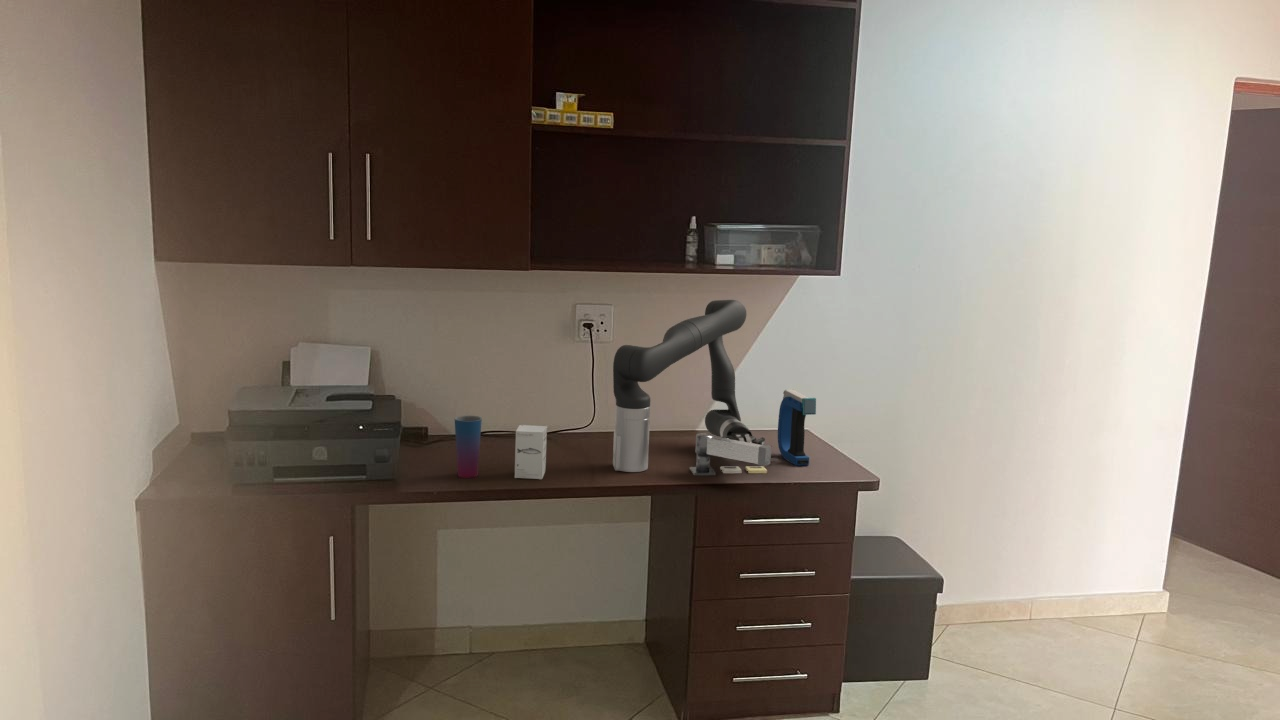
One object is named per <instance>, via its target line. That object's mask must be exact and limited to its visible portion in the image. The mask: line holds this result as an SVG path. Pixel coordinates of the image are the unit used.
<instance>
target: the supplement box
mask: <svg viewBox="0 0 1280 720" xmlns="http://www.w3.org/2000/svg"><path fill="white" fill-rule="evenodd" d="M547 434H548V426H547V425H545V426H544V425H533V424H532V425H529V424H519V425H518V427H517V428H516V429H515V443H514V446H515V448H514V479H531V480H543V478H544V476H545V473H546V466H547V438H548V437H547Z"/></svg>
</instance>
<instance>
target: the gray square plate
mask: <svg viewBox="0 0 1280 720" xmlns="http://www.w3.org/2000/svg"><path fill="white" fill-rule="evenodd" d="M710 463H711V455H701V454H697V453H696V465H695V466H689V470H690V472H691V473H693V474H692V475H693V476H716V475H717V474H716V473H717V472H716V471H715V469H713V467H712V466H710Z"/></svg>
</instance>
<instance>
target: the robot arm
mask: <svg viewBox="0 0 1280 720" xmlns="http://www.w3.org/2000/svg"><path fill="white" fill-rule="evenodd" d="M746 319H747V309H746V307H745V305H744V304H743V303H742V302H741V301H738V300H736V299H720V300H719V299H718V300H715V299H714V300H711V301H710V302H709V303H708V304H707V305H706V307H705V310H704V315H700V316H699V315H698V316H695V317H691V318H687V319H685V320H682V321H680V322H678V323H676V324H675V325H673V326H671V327H670V328H668V329H667V330H666V332H665V333H664V335H663V338H662V339H663V340H662V342H660V343H658V344H656V345H653V346H648V347H644V346H638V345H632V344H625V345H621V346H620V347H618V349H617V350H616V352H615V354H614V358H613V363H612V371H613V372H612V375H613V379H612V380H613V382H612V384H613V395H614V398H615V399H614V400H615V416H614V417H615V418H614V419H615V420H614V421H615V422H614V431H613V443H612V444H613V446H612V447H613V449H612V466H613V469H614V470H615V471H620V472H626V473H640V472H644V471H647V470H648V468H649V467H648V466H649V449H650V448H649V447H650V445H649V443H650V419H651V418H650V417H651V396H650V394H648V393H647V392H646V391H645V390H644V389H642V388H641V386H640V385H639V383H646V382H650V381H651V380H653V379H655V378H656V377H657V376H659V375H660V374H661V373H662V372H664V371H665V370H666V369H667V368H669V367H670V366H671V365H674V364H675V363H676V362H679V361H681V360H682V359H683V358H685V357H687V356H690V355H692V354H693V353H695V352H696V351H698V350H700V349H702V348H703V347H704V346H707V347H708V352H709V357H710V367H711V369H710V370H711V399H712V400H713V401H716V402H720V403H724V404H725V405H726V407H727V408H726V409H711V410H709V411H708V412H707V413H706V415H705V417H704V425H705V427H706V430H707V432H708V433H709V434H711V435H713V436H715V437H721V438H726V439H732V440H737V441H742V442H748V443H753V444H759V445H766V437H763V436H762V437H760V438H759V437H756V436H755V435H754V436H753V434H752V432H751V430H750V428H748V427H747V426H746V425H745V424H744V423H743V422H742V420H741V419H742V418H741V415H740V411H739V407H738V404H737V399H736V374H735V368H734V365H733V364H732V361H731V358H730V357H729V355H728V353H727V351H726V348H725V345H724V341H723V336H725V335H727V334H730V333H733V332H736V331H738V330H739V329H741V328H742V326H744V324H745V322H746Z"/></svg>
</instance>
